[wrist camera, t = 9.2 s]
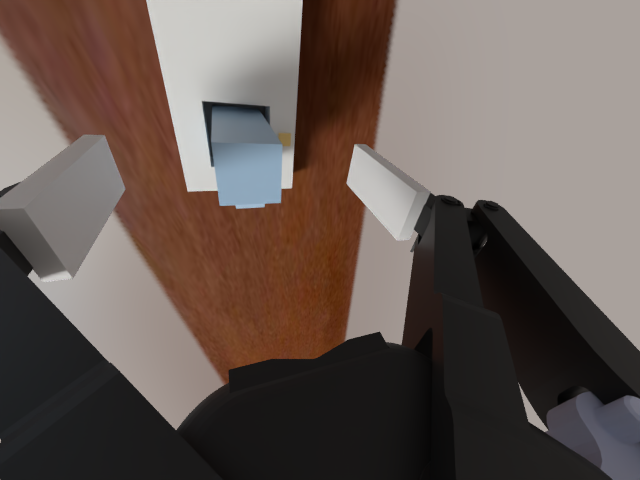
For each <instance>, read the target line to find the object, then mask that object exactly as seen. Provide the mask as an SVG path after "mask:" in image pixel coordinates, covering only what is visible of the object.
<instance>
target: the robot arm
mask: <svg viewBox="0 0 640 480" xmlns="http://www.w3.org/2000/svg"><path fill="white" fill-rule="evenodd" d="M347 185H348V186H349V187H350V188H351V189H352V190H353V192H354V193H355V194H356V195H357V196H358V197H359V198H360V199H361V201H362V202H363V203H364V204H365V205H366V206H367V207H368V208H369V210H370V211H371V212H372V213H373V214H374V215H375V216H376V217H377V219H378V220H379V221H380V222H381V223H382V224H383V225H384V226H385V228H386V229H387V230H388V231H389V232H390V233H391V234H392V235H393V237H394V238H395V239H396V240H397V241H400V240H409V239H410V237H411V235H412V233H413V231H414V230H415V231H416V232H417V233H418V236H417V238H416V241H415V243H414V245H413V247H412V249H411V252H413V251H414V256H413V264H412V272H411V279H410V286H409V294H408V302H407V309H406V317H405V325H404V332H403V340H402V345H399V344H395V343H389V342H385V340H384V338H383V337H382V335H381V333H380V332H377V333H373V334H369V335H365V336H361V337H357V338H353V339H349V340H347V341H345V342H344V343H342V344H340V345H338V346H337V347H335V348H333V349H332V350H330V351H328V352H327V353H325V354H323V355H322V356H320V357H318V358H315V359H270V360H266V361H262V362H258V363H254V364H250V365H246V366H242V367H238V368H234V369H230V370H229V383H228V384H226V385H224V386H222V387H221V388H219V389H218V390H216V391H215V392H213V393H212V394H210V395H209V396H208V397H207V398H206V399H204V400H203V401H202V402H201V403H200V404H199V405H198V406H197V407H196V408H195V409H194V410H193V411H192V412H191V413H190V414H189V415H188V416H187V417H186V419H185V420H184V421H183V422H182V424H181V425H180V426H179V427H178V429H177V430H175V429H174V428H173V427H172V426H171V425H170V424H169V423H168V422H167V421H166V420H165V419H164V417H162V415H161V414H160V413H159V412H158V411H157V410H156V409H155V408H154V407H153V406H152V405H151V404H150V403H149V402H148V401H147V400H146V399H145V397H144V396H142V394H141V393H140V392H139V391H138V390H137V389H136V388H135V387H134V386H133V385H132V384H131V383H130V382H129V381H128V380H127V379H126V378H125V377H124V375H123V374H122V373H120V371H119V370H118V369H117V368H116V367H115V366H114V365H112V363H109V362H108V361H107V360H106V359H105V358H104V357H103V356H102V355H101V354H100V353H99V351H98V350H97V349H96V348H95V347H94V346H93V345H92V344H91V343H90V342H89V341H88V340H87V339H86V338H85V337H84V336H83V335H82V334H81V332H80V331H79V330H78V329H77V328H76V327H75V326H74V325H73V324H72V323H71V322H70V321H69V320H68V319H67V318H66V317H65V316H64V315H63V313H61V311H60V310H59V309H58V308H57V307H56V306H55V305H54V304H53V303H52V302H51V301H50V300H49V299H48V298H47V297H46V296H45V295H44V293H42V291H41V290H40V289H39V288H38V287H37V286H36V285H35V284H34V283H33V282H32V281H31V280H30V279H29V278H28V277H27V276H28V274H29V273H30V272H31V271H32V269H33V270H34V271H35V272H36V274H37V275H38V276H39V277H40V279H41V280H42V281H43V282H47V281H56V280H65V279H73V278H74V276H75V274H76V273H77V271H78V269H79V267H80V266H81V264H82V262H83V260H84V259H85V257H86V255H87V254H88V252H89V250H90V248H91V247H92V245H93V244H94V242H95V240H96V238H97V237H98V235H99V233H100V231H101V230H102V228H103V226H104V225H105V223H106V221H107V220H108V218H109V216H110V214H111V213H112V211H113V209H114V208H115V206H116V204H117V203H118V201H119V199H120V197H121V196H122V194H123V192H124V191H125V187H124V184H123V182H122V179H121V176H120V174H119V171H118V169H117V166H116V164H115V161H114V158H113V156H112V153H111V151H110V148H109V146H108V143H107V140H106V138H105V135H83V136H82V137H80V138H79V139H78V140H76V141H75V142H74V143H72V144H71V145H70V146H68V147H67V148H66V149H64V150H63V151H62V152H60V153H59V154H58V155H57V156H55V157H54V158H53V159H51V160H50V161H48V162H47V163H46V164H44V165H43V166H42V167H41V168H39V169H38V170H37V171H35V172H34V173H33V174H31V175H30V176H29V177H28V178H26V179H25V180H23V181H22V182H19V183H17V184H14V185H12V186H9V187H7V188H4V189H3V190H2V191H0V439H1V443H0V480H640V351H639V350H638V349H637V348H636V347H635V346H634V345H633V344H632V343H631V342H630V341H629V340H628V338H626V336H625V335H624V334H623V333H622V332H621V331H620V330H619V329H618V328H617V327H616V326H615V325H614V324H613V323H612V322H611V320H609V318H607V316H606V315H605V314H604V313H603V312H602V311H601V310H600V309H599V308H598V307H597V306H596V305H595V304H594V303H593V302H592V300H591V299H590V298H589V297H588V296H587V295H586V294H585V293H584V292H583V291H582V290H581V289H580V288H579V287H578V286H577V285H576V284H575V283H574V282H573V281H572V279H571V278H570V277H569V276H568V275H567V274H566V273H565V272H564V271H563V270H562V269H561V268H560V267H559V266H558V265H557V264H556V263H555V261H554V260H553V259H552V258H551V257H550V256H549V255H548V254H547V253H546V252H545V251H544V250H543V249H542V248H541V247H540V246H539V245H538V244H537V243H536V241H535V240H533V238H532V237H531V236H530V235H529V234H528V233H527V232H526V231H525V230H524V229H523V228H522V227H521V226H520V225H519V224H518V222H516V220H515V219H514V218H513V217H512V216H511V215H510V214H509V213H508V212H507V211H506V210H505V209H504V208H503V207H501V206H500V205H498V204H497V203H495V202H492V201H486V200H478V201H477V202H476V204H475V206H474V207H473V209H470V208H464V205H463V203H462V202H461V201H459V200H457V199H456V198H454V197H451V196H445V195H438V196H434V195H433V194H432V193H430V191H429V190H428V189H426V188H425V187H423V186H422V185H421V184H419V183H418V182H417V181H415V180H414V179H412V178H411V177H410V176H408V175H407V174H406V173H404V172H403V171H401V170H400V169H399V168H397V167H396V166H394V165H393V164H392V163H390V162H389V161H387V160H386V159H385V158H383V157H382V156H381V155H379V154H378V153H377V152H375V151H374V150H372V149H371V148H370V147H368V146H367V145H365V144H355V146H354V151H353V155H352V160H351V165H350V170H349V175H348V179H347ZM485 242H486V243H485ZM484 244H485V245H484ZM483 245H484V246H483ZM518 382H519V384H520V386H521V388H522V390H523V392H524V394H525V396H526V397H527V399H528V400H529V402H530V404H531V405H532V407H533V408H534V410H535V412H536V413H537V415H538V416H539V418H540V419H541V420H542V422H543V423H544V425H545V426H546V427H547V429H548V430H549V431H547V432H543V431H542V430H540V429H539V428H537V427H536V426H534V425H533V424H531V423H529V422H528V419H527V415H526V411H525V407H524V403H523V399H522V396H521V392H520V388H519V384H518Z"/></svg>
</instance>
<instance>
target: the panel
mask: <svg viewBox="0 0 640 480" xmlns="http://www.w3.org/2000/svg"><path fill="white" fill-rule="evenodd" d="M146 1H147V6H148V10H149V15H150V20H151V24H152V29H153V33H154V38H155V43H156V47H157V52H158V56H159V61H160V66H161V70H162V75H163V79H164V84H165V89H166V93H167V98H168V102H169V107H170V112H171V116H172V121H173V125H174V130H175V135H176V139H177V144H178V148H179V153H180V158H181V162H182V167H183V171H184V176H185V181H186V185H187V190H188V191H217V190H218V188H217V181H216V174H215V167H214V159H213V152H212V145H211V131H212V105H218V106H232V107H245V108H258V109H259V110H260V112H261V113H262V115H263V116H264V118H265V119H266V121H267V122H268V124H269V125H270V127H271V128H272V130H273V131H274V133H275V134H276V136H277V137H278V138H279V140H280V141H281V143H282V144H283V145H282V179H281V189H282V188H292V178H293V160H294V143H295V126H296V108H297V91H298V74H299V56H300V39H301V22H302V4H303V0H146Z"/></svg>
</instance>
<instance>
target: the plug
mask: <svg viewBox="0 0 640 480" xmlns="http://www.w3.org/2000/svg"><path fill="white" fill-rule="evenodd" d="M211 145H212V152H213V159H214V167H215V174H216V181H217V188H218V196H219V203H220V206H226V205H236V209H237V208H256V207H265V204H266V203H281V179H282V145H283V144H282V143H281V141H280V140H279V138H278V137H277V136H276V134H275V133H274V131H273V130H272V128H271V127H270V125H269V124H268V122H267V121H266V119H265V118H264V116H263V115H262V113H261V112H260V110H259V109H258V108H245V107H232V106H218V105H212V131H211Z"/></svg>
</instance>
